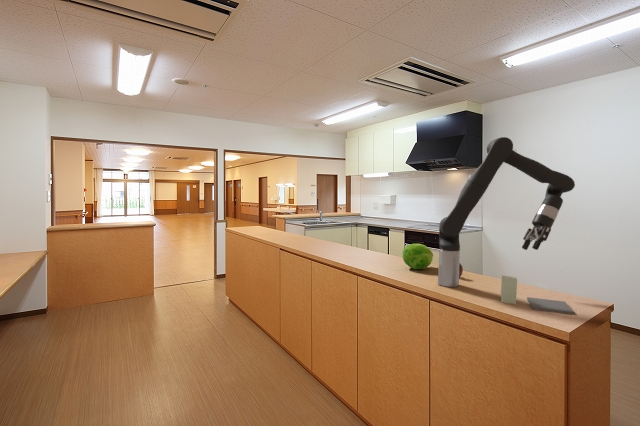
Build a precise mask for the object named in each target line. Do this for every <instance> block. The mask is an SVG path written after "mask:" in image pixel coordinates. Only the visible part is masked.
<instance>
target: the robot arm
mask: <svg viewBox="0 0 640 426" xmlns="http://www.w3.org/2000/svg"><path fill="white" fill-rule="evenodd" d="M486 153H487V155H486V157H485V159H484V160H483V161H482V162H481V164H480V165H479V166H478V167H477V169H475V171H473V173H472V174H471V175H470V176H469V178H468V179H467V181H466V182H465V183H464V185H463V186H462V188H461V191H460V193H459V196H458V199H457V201H456V203H455V206H454V208H453V209H452V210H451V212H450V213H449V214H447V216H446V217H444V218H443V219H442V218H441V220H440V222H439V228H438V229H439V232H438V234H439V236H438V237H439V238H438V242H439V252H438V253H439V257H438V267H437V268H438V270H437V272H438V273H437V275H438V277H437V286H438V285H439V286H443V287H448V288H449V287H450V288H457V287H459V285H460V277H459V263H460V257H461V256H460V254H461V252H460V251H461V244H460V233H461V231H462V230H463V227H464V225H465V223H466V221H467V219H468V217H469V216H470V214H471V212H472V211H473V210H474V208H475V207H476V206H477V205H478V203H479V201H480V200H481V198H482V197H483V196H484V194H485V192H486V191H487V189H488V188H489V187H490V184H491V183H492V181H493V180H494V177H495V175H496V173H497V172H498V170H500V167H502V165H503V163H504V164H508V165H509V166H511V167H513V168H515V169H517V170H519V171H520V172H522V173H524V174H526V175H527V176H528V177H529V178H532V179H533V180H535V181H537V182H539V183H541V184H548V185H547V187H546V191H545V196H544V199H543V201H542V202H541V205H540V206H539V208H538V209H537V211H536V213H535V215H534V217H533V220H532V222H531V224H532V225H533V227H532V228H530V227H529V228H528V229H527V231H526V232H525V234H524V236H523V237H522V239H523V240H524V242H523V244H522V246H521V248H522V249H523V250H524V251H527V250H528V248H529V247H530V245H531V243H532V242H533V241H534V243H533V244H532V249H533V250H536V251H538V250H539V248H540V246H541V244H542V243H543V242H546V241H547V239H548V238H549V235H550V233H551V231H552V227H553V225H554V222H556V221H555V220H556V219H557V216H558V215H559V211H560V209H561V208H562V206H563V203H564V200H563V198H562V195H563V194H565V193H568V192H571V191H572V190H573V189H574V188H575V186H576V184H575V180H574V179H573V178H572V177H570V176H569V175H568V174H565V173H562V172H559V171H556V170H554V169H551V168H549V167H548V166H546V165H544V164H542V163H541V162H539V161H537V160H535V159H532V158H529V157H528V156H525V155H523V154H520V153H518V152H517V151H515V150H514V143H513V141H512V139H510V138H509V137H505V136H504V137H498V138H495V139H493V140H491V141H490V142H489V143H488V144H487V146H486Z"/></svg>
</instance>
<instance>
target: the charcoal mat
mask: <svg viewBox="0 0 640 426" xmlns="http://www.w3.org/2000/svg"><path fill="white" fill-rule="evenodd" d="M526 300H527V301H528V304H529V306H530V307H531V309H532V310H537V311H538V310H539V311H543V312H544V311H545V312H552V313H558V314H559V313H560V314H568V315H574V314H575V311H574V310H573V309H572V308H571V307H570V306H569V305H568V303H567V302H566V301H563V300H556V299H549V298H547V299H546V298H538V297H530V296H528V297H526Z"/></svg>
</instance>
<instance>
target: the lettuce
mask: <svg viewBox="0 0 640 426" xmlns="http://www.w3.org/2000/svg"><path fill="white" fill-rule="evenodd" d="M433 258H434V254H433V252H432V250H431V249H430V248H429V247H427V245H424V244H421V243H411V244H408V245H406V246H405V247H404V248H403V250H402V259H403V262H404V264H406V265H407V266H408V268H411V269H413V270H422V269H426V268H427V267H429V266H430V265H431V264H432V262H433Z"/></svg>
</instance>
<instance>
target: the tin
mask: <svg viewBox="0 0 640 426" xmlns="http://www.w3.org/2000/svg"><path fill="white" fill-rule="evenodd" d="M463 270H464V269H463V265H462V264H461V263H460V262H459V278H460V277H461V276H462V275H463Z"/></svg>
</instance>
